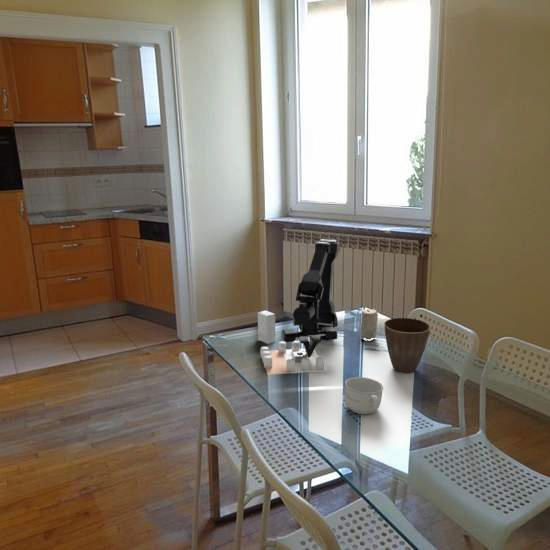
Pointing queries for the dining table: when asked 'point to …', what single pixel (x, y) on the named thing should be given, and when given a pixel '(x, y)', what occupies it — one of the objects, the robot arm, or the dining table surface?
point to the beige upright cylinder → (368, 324)
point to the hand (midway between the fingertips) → (308, 357)
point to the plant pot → (406, 342)
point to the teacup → (363, 394)
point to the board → (290, 360)
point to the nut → (298, 356)
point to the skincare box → (266, 327)
